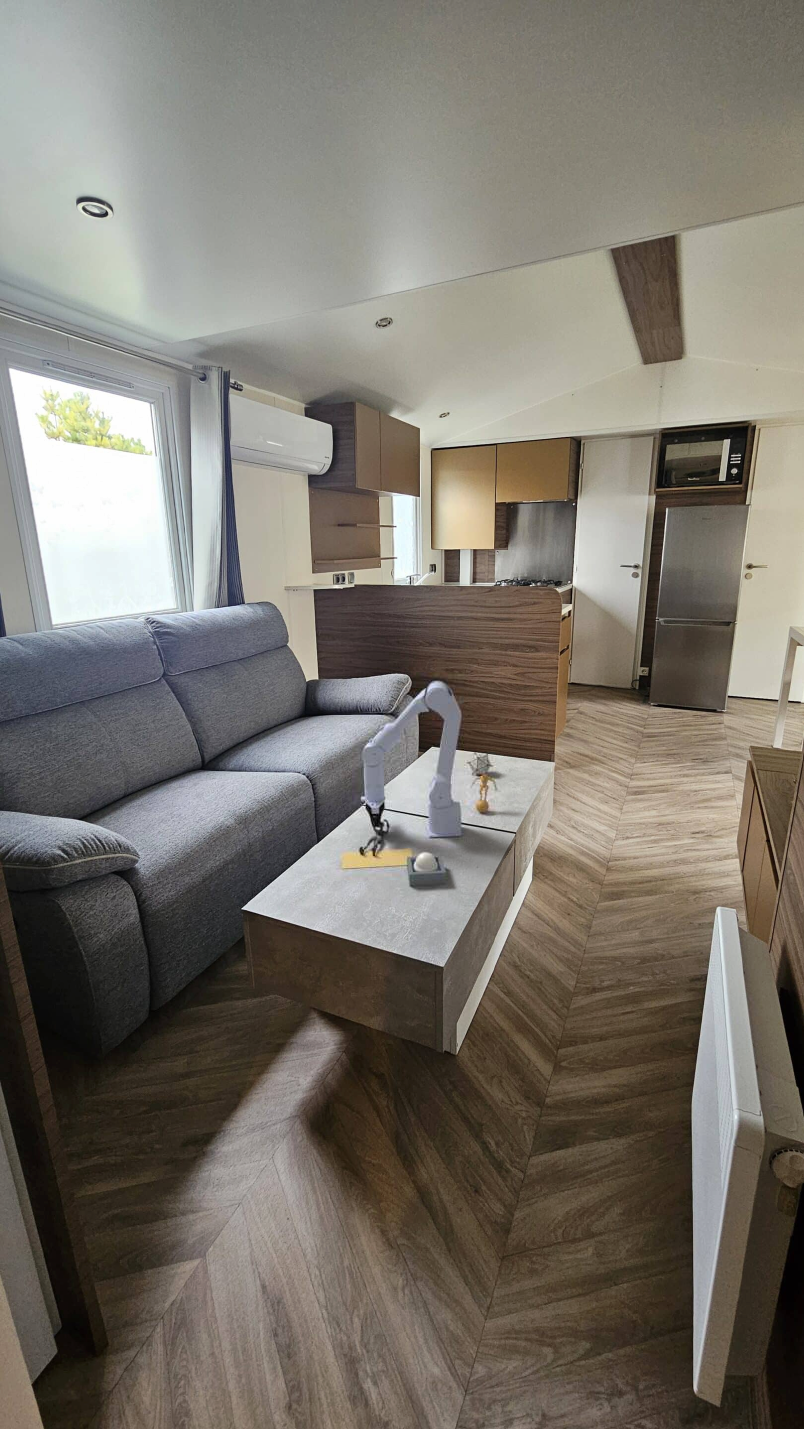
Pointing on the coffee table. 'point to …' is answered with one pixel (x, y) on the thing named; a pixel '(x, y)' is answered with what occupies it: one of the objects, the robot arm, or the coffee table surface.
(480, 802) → the figurine
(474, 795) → the coffee table surface
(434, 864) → the popper dome
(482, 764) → the grey spiky lattice polyhedron
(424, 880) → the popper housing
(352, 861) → the yellow rectangular panel
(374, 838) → the zombie figurine
